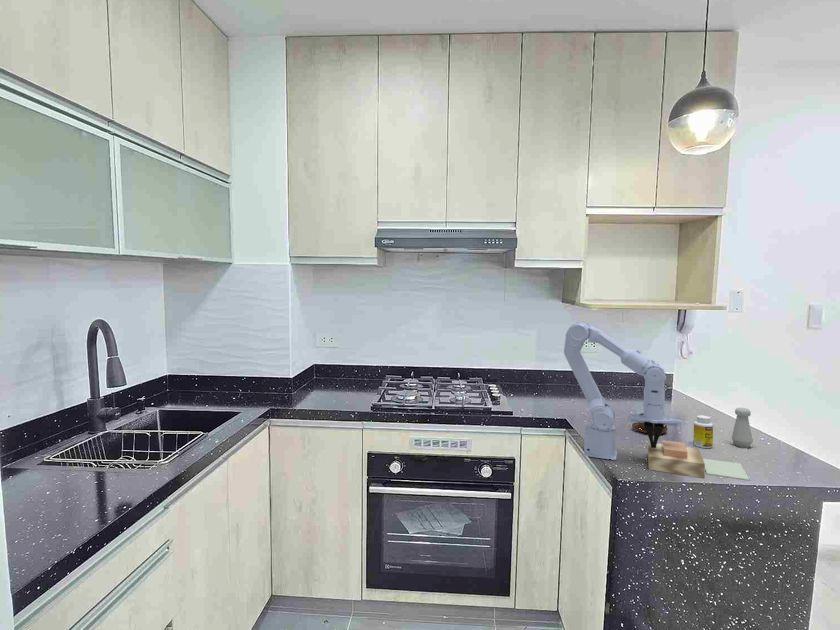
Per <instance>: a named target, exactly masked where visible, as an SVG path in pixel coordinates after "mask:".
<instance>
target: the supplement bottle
mask: <svg viewBox="0 0 840 630" xmlns="http://www.w3.org/2000/svg"><path fill="white" fill-rule="evenodd" d="M711 421H712V420H711V417H710V416H709V415H708V416H707V415H702V414H700V415H696V420H695V421H693V443H692V444H693V445H694V446H695V447H697V448H699V449H700V448H701V449H712V447H713V446H714V445H713V442H714V441H713V440H714V438H713V437H714V423H713V422H711Z"/></svg>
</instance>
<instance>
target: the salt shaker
mask: <svg viewBox="0 0 840 630" xmlns="http://www.w3.org/2000/svg"><path fill="white" fill-rule="evenodd" d="M751 412H752V411H751V410H750V409H749V408H746V407H736V408H735V409H734V414H735V415H736V418H735V423H734V426H733V430H732V434H731V441H732V442H733V444H734V446H735V447H737V448H743V449H748V448H750V446H751V445H752V444H753V441H754V440H753V439H754V438H753V435H752V431H751V426H750V420H749V417H750V416H751V415H752V414H751Z"/></svg>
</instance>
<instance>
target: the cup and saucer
mask: <svg viewBox="0 0 840 630" xmlns="http://www.w3.org/2000/svg"><path fill="white" fill-rule="evenodd" d="M643 414H644V412H643V413H639V414H638V415H643ZM631 427H632V428H633V429H634V431H635V430H636V431H638V432H640V433H643V434H647V431H646V429H645V427H644V423H641V422H634V423H633V422H632V424H631ZM639 428H641V429H642V430H641V429H639ZM666 432H668V425H664V429H663V431H662V433H661V434H665V433H666ZM661 434H660V435H661ZM653 435H654V424H653Z"/></svg>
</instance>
